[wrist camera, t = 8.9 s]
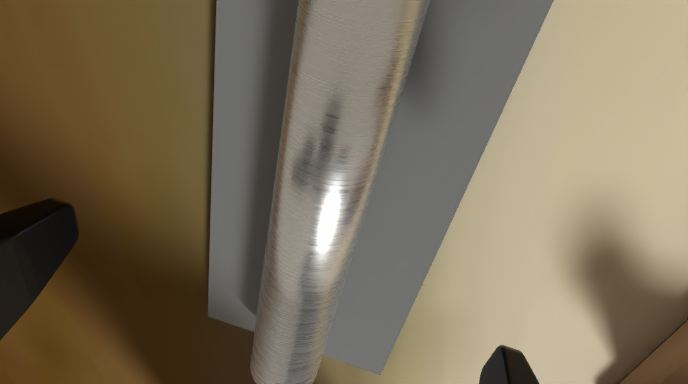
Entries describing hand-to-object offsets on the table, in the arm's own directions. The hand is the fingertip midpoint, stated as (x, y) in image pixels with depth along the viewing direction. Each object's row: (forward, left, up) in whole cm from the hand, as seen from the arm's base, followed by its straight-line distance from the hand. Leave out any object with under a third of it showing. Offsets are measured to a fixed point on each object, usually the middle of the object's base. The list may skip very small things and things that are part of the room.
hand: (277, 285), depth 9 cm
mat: (0, 0, -5) cm, 5 cm away
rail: (0, 0, -4) cm, 4 cm away
